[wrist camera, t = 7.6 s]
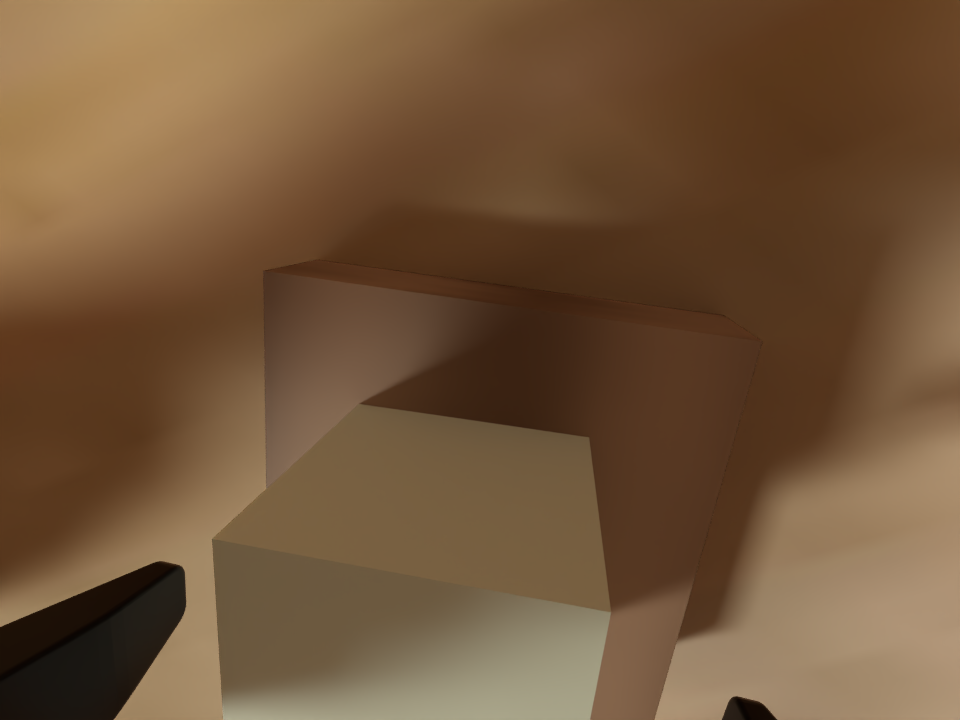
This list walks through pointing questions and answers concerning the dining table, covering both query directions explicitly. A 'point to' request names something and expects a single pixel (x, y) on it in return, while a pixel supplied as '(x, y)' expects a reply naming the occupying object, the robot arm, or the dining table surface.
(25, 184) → the dining table surface
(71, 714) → the robot arm
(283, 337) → the walnut board
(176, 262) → the dining table surface
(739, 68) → the dining table surface
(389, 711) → the sage cube
